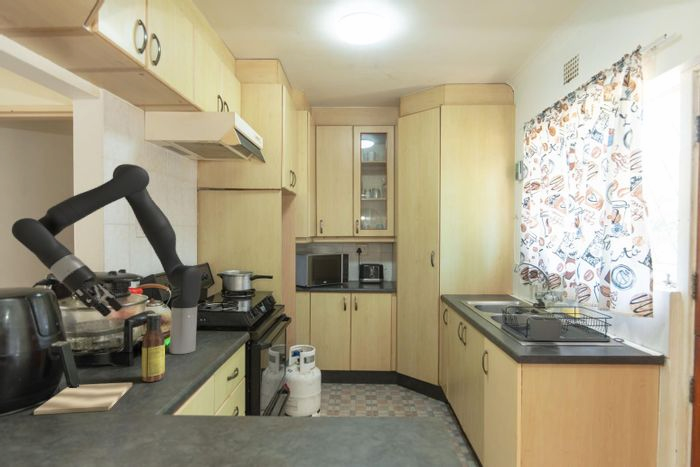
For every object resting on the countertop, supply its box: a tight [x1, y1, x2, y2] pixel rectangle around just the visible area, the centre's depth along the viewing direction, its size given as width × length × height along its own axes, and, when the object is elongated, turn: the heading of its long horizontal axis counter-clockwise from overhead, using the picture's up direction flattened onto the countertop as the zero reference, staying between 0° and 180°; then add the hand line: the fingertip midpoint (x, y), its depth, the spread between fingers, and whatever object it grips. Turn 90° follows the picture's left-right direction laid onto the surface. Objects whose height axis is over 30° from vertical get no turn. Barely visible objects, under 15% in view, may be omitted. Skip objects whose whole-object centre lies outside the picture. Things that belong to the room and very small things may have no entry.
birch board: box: [33, 382, 133, 416], centre depth 97 cm, size 16×16×1 cm
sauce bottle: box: [141, 312, 166, 383], centre depth 113 cm, size 6×6×20 cm
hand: (114, 311), depth 111 cm, fingers open, 8 cm apart
